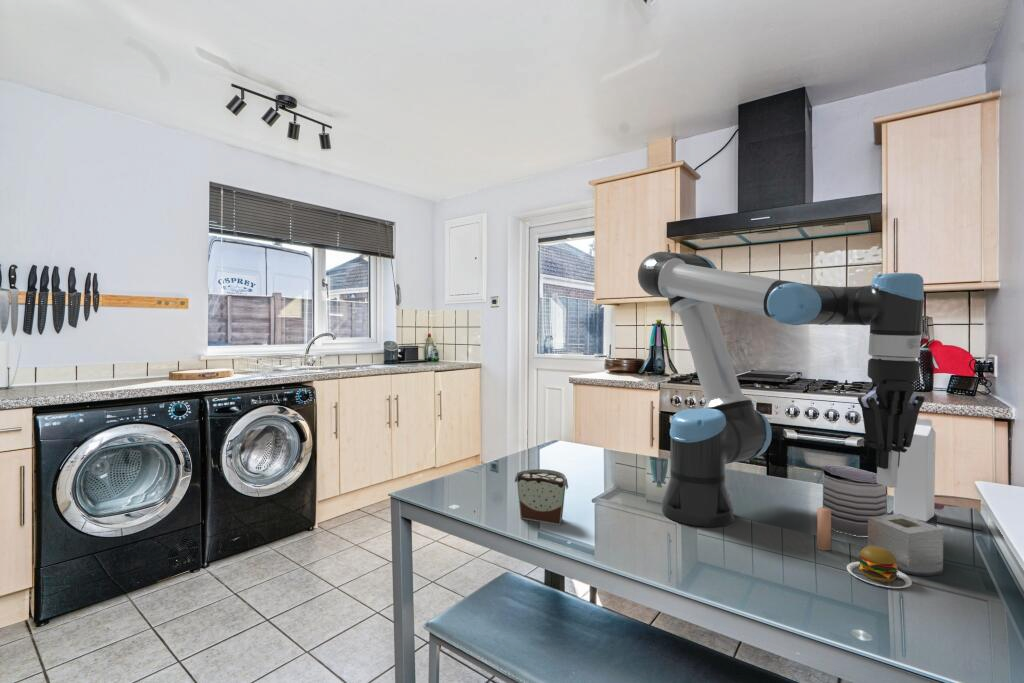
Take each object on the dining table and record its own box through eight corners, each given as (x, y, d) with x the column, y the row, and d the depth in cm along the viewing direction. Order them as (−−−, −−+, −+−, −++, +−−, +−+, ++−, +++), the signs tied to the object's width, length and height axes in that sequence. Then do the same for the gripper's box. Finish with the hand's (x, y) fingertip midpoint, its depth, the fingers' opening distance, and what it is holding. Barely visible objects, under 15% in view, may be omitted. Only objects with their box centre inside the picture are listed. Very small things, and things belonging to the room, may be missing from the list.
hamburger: (888, 604, 77) (889, 569, 77) (819, 569, 88) (819, 538, 88) (942, 592, 81) (943, 558, 81) (869, 559, 92) (869, 530, 92)
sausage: (819, 550, 95) (819, 510, 95) (815, 545, 97) (816, 507, 97) (832, 551, 94) (832, 512, 94) (828, 546, 96) (828, 508, 96)
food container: (575, 516, 112) (575, 472, 112) (566, 526, 107) (566, 479, 106) (525, 508, 117) (525, 466, 117) (514, 517, 112) (514, 473, 112)
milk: (926, 522, 109) (928, 421, 108) (892, 514, 113) (894, 417, 113) (934, 515, 112) (936, 418, 112) (901, 508, 117) (903, 414, 116)
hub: (880, 571, 86) (880, 536, 86) (856, 544, 97) (856, 514, 97) (957, 579, 83) (957, 544, 83) (923, 551, 94) (924, 520, 94)
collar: (908, 568, 85) (908, 533, 85) (867, 549, 93) (867, 517, 93) (942, 563, 87) (943, 529, 87) (899, 545, 94) (900, 513, 94)
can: (829, 513, 114) (829, 461, 114) (890, 527, 106) (891, 471, 105) (814, 527, 106) (815, 470, 106) (880, 543, 98) (881, 482, 97)
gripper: (884, 360, 86) (877, 494, 87) (942, 360, 89) (935, 489, 90) (846, 356, 93) (840, 480, 95) (901, 356, 96) (894, 476, 98)
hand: (886, 484), depth 93 cm, fingers closed
